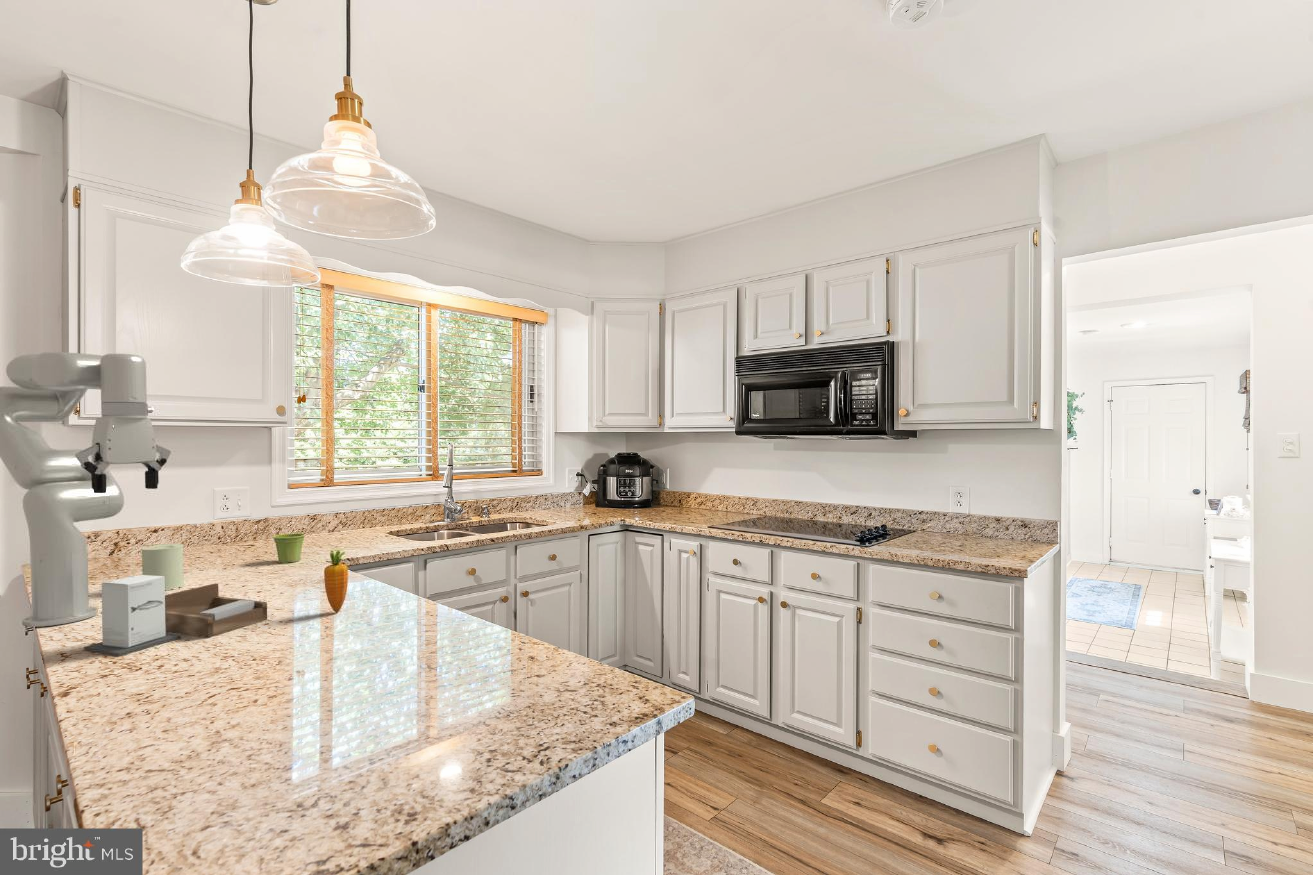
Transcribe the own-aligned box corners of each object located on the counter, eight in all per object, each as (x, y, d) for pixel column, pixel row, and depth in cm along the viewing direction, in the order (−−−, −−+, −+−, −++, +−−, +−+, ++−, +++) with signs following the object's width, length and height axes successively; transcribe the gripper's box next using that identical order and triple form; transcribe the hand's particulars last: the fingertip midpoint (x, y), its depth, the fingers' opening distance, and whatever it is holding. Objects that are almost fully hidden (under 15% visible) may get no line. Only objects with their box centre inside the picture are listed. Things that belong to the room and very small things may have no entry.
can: (166, 592, 167) (165, 547, 167) (132, 592, 168) (131, 548, 167) (192, 583, 177) (191, 541, 176) (160, 584, 177) (159, 542, 177)
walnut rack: (155, 629, 135) (154, 597, 135) (216, 612, 147) (215, 583, 147) (208, 637, 129) (207, 604, 129) (267, 619, 141) (266, 588, 141)
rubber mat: (83, 649, 123) (83, 646, 123) (146, 632, 133) (146, 629, 133) (118, 656, 119) (118, 653, 119) (180, 638, 129) (180, 635, 129)
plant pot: (287, 558, 211) (286, 532, 211) (312, 558, 210) (311, 533, 210) (266, 564, 202) (265, 537, 202) (292, 564, 201) (291, 537, 201)
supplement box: (127, 648, 121) (126, 584, 121) (101, 645, 123) (99, 582, 123) (167, 636, 128) (165, 575, 128) (141, 633, 130) (140, 573, 130)
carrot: (325, 611, 147) (324, 548, 147) (349, 608, 149) (348, 546, 149) (323, 617, 142) (322, 551, 142) (348, 614, 144) (346, 549, 144)
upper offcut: (199, 623, 132) (199, 612, 132) (240, 610, 141) (239, 600, 141) (215, 624, 131) (214, 613, 131) (254, 611, 140) (254, 601, 140)
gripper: (157, 412, 144) (159, 486, 144) (64, 411, 128) (66, 494, 128) (179, 412, 141) (180, 487, 141) (86, 410, 125) (88, 495, 125)
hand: (126, 490), depth 135 cm, fingers open, 9 cm apart
